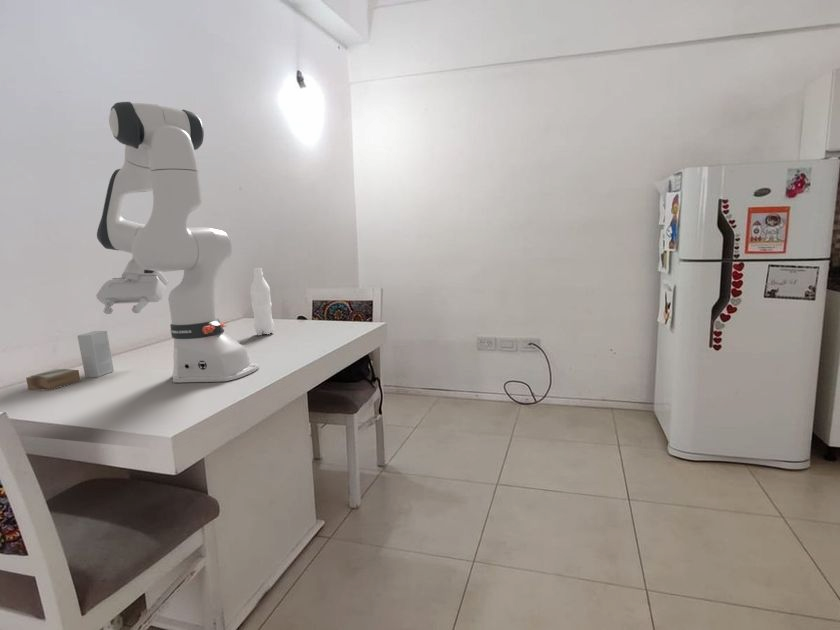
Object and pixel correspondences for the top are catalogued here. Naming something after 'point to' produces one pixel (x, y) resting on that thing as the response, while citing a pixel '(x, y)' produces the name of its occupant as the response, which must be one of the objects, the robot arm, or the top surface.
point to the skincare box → (95, 353)
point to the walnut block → (53, 379)
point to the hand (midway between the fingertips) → (121, 312)
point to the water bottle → (261, 304)
